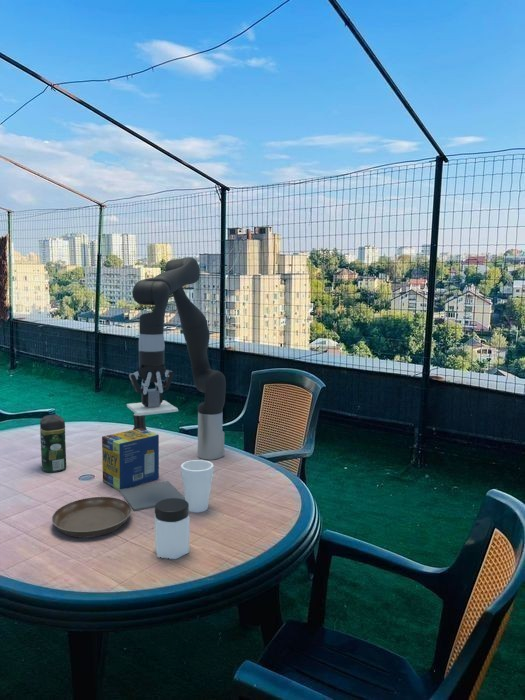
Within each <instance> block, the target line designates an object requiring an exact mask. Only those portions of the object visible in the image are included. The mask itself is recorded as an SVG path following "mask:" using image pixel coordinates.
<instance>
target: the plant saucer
mask: <svg viewBox="0 0 525 700" xmlns="http://www.w3.org/2000/svg"><path fill="white" fill-rule="evenodd" d="M132 510H133V509H132V508H131V506H130V505H129V504H128V502H127V501H126V500H123V499H120V498H116V497H111V496H95V497H94V496H93V497H87V498H86V497H85V498H81V499H78V500H74V501H71V502H69V503H67V504H64V505H63V506H61V507H59V508H58V509H57V510H56V511H54V513H53V514H52V517H51V521H52V523H53V525H54V526H55V528H56V529H57V530H59V531H60V532H61V533H63V534H64V535H66V536H70V537H74V538H94V537H101V536H104V535H107V534H109V533H112V532H114V531H115V530H117V529H119V528H120V527H122V526H123V524H125V522H126V521H127V520H128V519H129V518H130V516H131V513H132Z"/></svg>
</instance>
